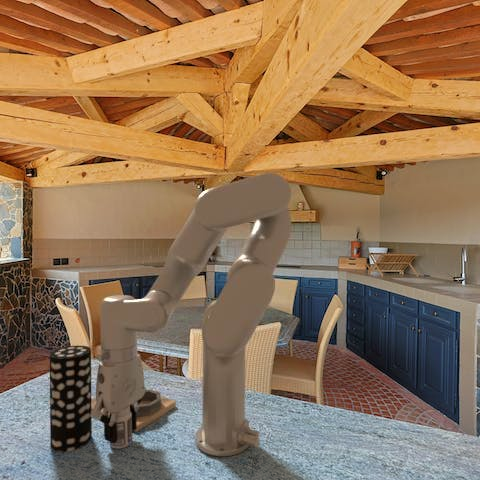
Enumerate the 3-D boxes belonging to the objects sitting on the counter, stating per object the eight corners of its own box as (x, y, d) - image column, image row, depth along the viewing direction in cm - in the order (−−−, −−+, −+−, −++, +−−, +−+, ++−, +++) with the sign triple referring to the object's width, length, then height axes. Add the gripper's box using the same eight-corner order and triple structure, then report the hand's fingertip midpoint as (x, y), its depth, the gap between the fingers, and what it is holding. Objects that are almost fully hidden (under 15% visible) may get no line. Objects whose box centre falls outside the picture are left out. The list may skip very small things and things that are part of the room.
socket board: (175, 406, 96) (175, 391, 96) (136, 432, 84) (136, 415, 84) (123, 389, 106) (123, 375, 106) (81, 409, 94) (80, 394, 94)
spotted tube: (52, 434, 82) (51, 348, 82) (91, 426, 86) (90, 343, 85) (48, 455, 75) (47, 360, 74) (91, 446, 78) (91, 355, 77)
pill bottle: (124, 434, 83) (123, 398, 82) (136, 441, 80) (136, 404, 79) (105, 443, 79) (104, 405, 79) (117, 452, 76) (116, 412, 76)
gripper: (97, 369, 69) (99, 461, 70) (159, 344, 84) (160, 421, 85) (73, 362, 73) (75, 450, 74) (136, 339, 88) (137, 413, 89)
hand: (121, 433), depth 79 cm, fingers closed on pill bottle, 4 cm apart
